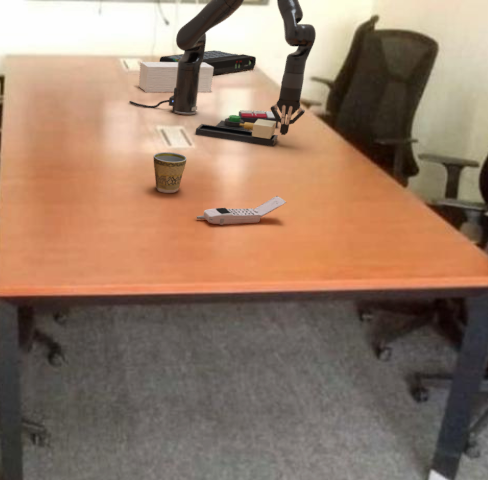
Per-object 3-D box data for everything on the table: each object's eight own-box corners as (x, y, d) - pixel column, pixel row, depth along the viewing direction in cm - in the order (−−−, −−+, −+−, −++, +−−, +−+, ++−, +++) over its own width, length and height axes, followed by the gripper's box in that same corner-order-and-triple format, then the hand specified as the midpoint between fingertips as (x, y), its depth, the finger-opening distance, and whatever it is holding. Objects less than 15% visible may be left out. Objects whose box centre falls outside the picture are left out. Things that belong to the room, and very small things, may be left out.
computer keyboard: (214, 60, 424) (216, 47, 420) (254, 69, 408) (256, 56, 404) (159, 67, 396) (160, 53, 393) (199, 78, 380) (200, 63, 377)
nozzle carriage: (235, 137, 286) (238, 121, 283) (240, 131, 293) (243, 116, 290) (269, 142, 283) (272, 126, 280) (273, 136, 290) (276, 121, 287)
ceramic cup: (173, 197, 230) (176, 164, 224) (144, 189, 234) (147, 157, 228) (193, 186, 239) (197, 154, 233) (165, 179, 243) (168, 148, 238)
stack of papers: (202, 86, 364) (205, 62, 358) (210, 91, 355) (213, 67, 349) (138, 86, 355) (140, 61, 349) (145, 92, 347) (147, 66, 341)
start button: (227, 121, 299) (228, 116, 298) (229, 119, 303) (230, 114, 302) (238, 123, 298) (239, 118, 297) (240, 120, 302) (241, 116, 301)
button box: (215, 129, 300) (216, 120, 298) (221, 123, 307) (222, 115, 305) (245, 133, 297) (247, 125, 295) (250, 128, 304) (251, 120, 302)
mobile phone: (288, 202, 214) (205, 205, 208) (284, 222, 218) (203, 226, 211) (278, 195, 219) (197, 198, 212) (275, 215, 222) (195, 218, 216)
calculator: (238, 109, 314) (275, 110, 313) (238, 120, 316) (274, 120, 316) (241, 115, 305) (278, 116, 304) (240, 126, 307) (277, 127, 307)
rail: (195, 134, 291) (196, 128, 290) (200, 129, 298) (201, 123, 296) (273, 146, 284) (274, 140, 282) (276, 141, 290) (277, 135, 289)
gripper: (311, 85, 276) (302, 134, 286) (275, 81, 279) (267, 129, 289) (308, 89, 270) (299, 139, 280) (271, 84, 273) (264, 134, 283)
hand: (283, 134), depth 284 cm, fingers closed
